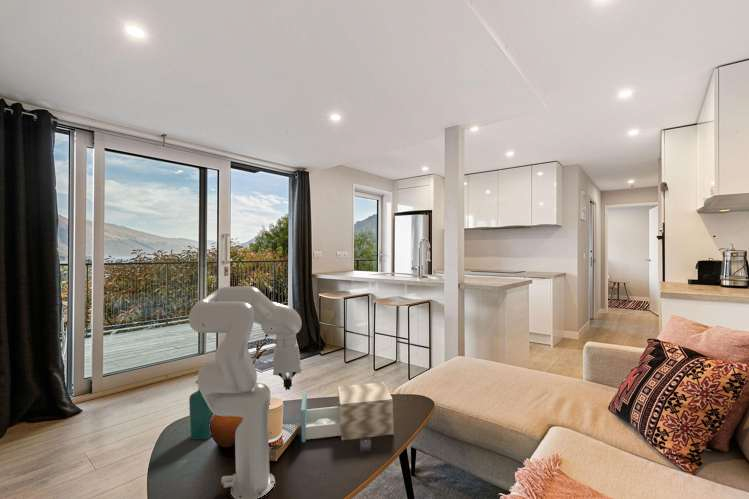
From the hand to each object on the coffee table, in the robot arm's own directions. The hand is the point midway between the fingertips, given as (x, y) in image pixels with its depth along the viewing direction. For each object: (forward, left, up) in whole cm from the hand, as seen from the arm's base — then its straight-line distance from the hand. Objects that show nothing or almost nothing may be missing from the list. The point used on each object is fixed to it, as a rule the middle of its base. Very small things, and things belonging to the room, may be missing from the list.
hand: (287, 388), depth 136 cm
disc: (+13, -1, -16) cm, 21 cm away
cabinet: (+30, 0, -18) cm, 35 cm away
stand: (+28, -17, -18) cm, 37 cm away
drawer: (+15, 0, -17) cm, 23 cm away
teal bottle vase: (-33, +8, -18) cm, 38 cm away
